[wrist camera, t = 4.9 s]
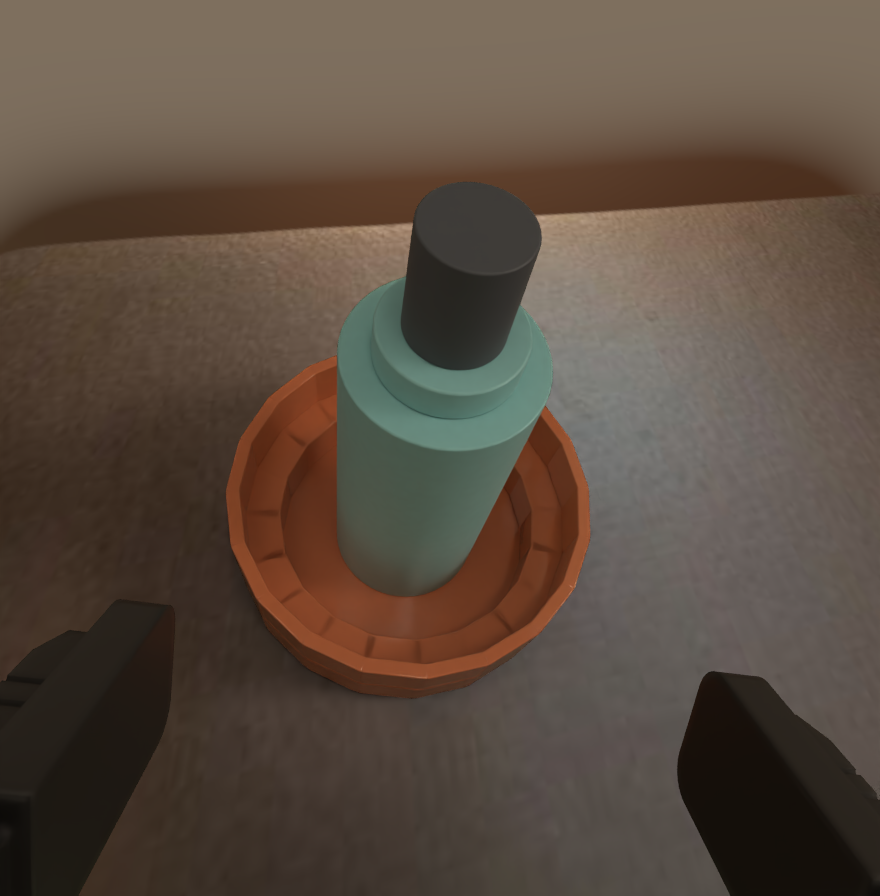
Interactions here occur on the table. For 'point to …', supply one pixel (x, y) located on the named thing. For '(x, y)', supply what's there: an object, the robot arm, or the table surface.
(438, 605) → the bowl
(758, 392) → the table surface
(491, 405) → the bottle
